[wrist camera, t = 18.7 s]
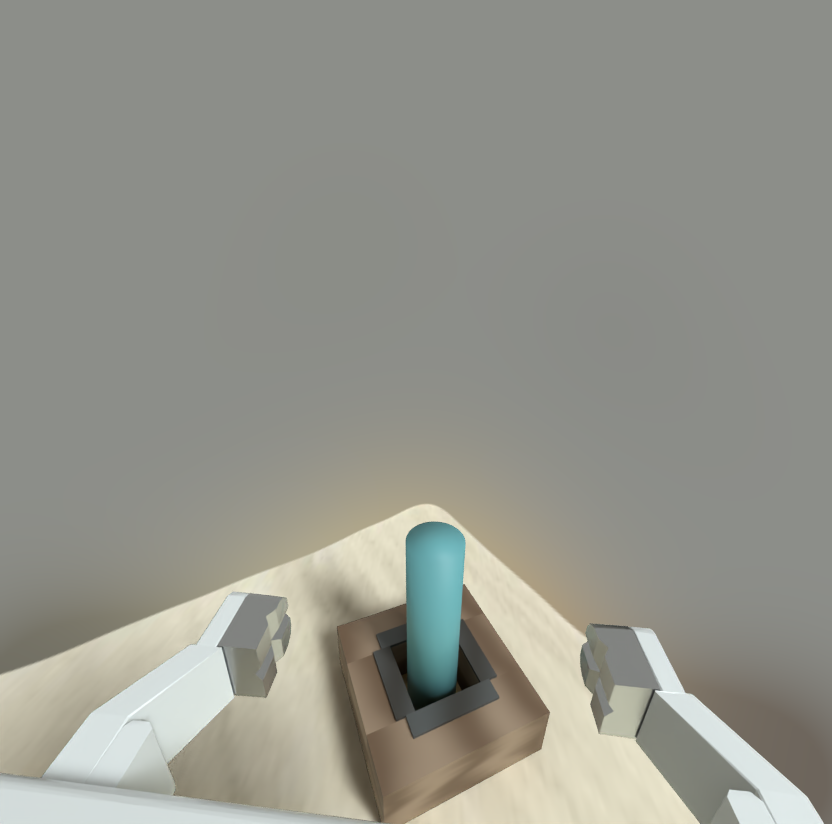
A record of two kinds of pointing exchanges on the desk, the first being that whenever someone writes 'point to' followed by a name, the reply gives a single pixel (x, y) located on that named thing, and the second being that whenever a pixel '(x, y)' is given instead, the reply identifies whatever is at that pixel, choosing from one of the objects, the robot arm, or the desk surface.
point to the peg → (433, 610)
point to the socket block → (436, 712)
